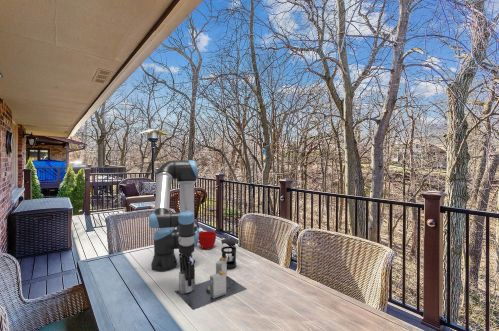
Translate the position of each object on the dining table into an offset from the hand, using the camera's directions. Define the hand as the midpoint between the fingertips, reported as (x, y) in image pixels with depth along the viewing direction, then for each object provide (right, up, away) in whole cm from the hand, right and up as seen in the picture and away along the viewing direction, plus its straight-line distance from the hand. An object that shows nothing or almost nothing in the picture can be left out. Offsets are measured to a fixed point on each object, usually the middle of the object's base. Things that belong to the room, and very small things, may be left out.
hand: (187, 290), depth 138 cm
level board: (+12, -2, +1) cm, 12 cm away
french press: (+19, 0, +30) cm, 35 cm away
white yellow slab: (+16, 0, +12) cm, 20 cm away
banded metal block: (+16, -1, -4) cm, 16 cm away
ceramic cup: (-2, +2, +65) cm, 65 cm away
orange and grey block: (0, -1, 0) cm, 1 cm away
